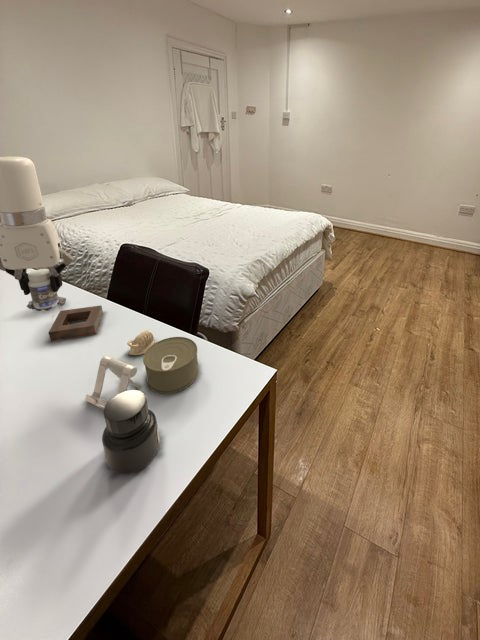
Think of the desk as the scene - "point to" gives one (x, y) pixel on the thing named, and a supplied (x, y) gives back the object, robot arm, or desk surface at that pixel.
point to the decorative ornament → (141, 343)
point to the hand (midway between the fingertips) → (43, 289)
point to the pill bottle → (42, 289)
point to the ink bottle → (129, 432)
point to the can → (171, 365)
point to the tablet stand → (119, 369)
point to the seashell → (31, 306)
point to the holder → (66, 331)
